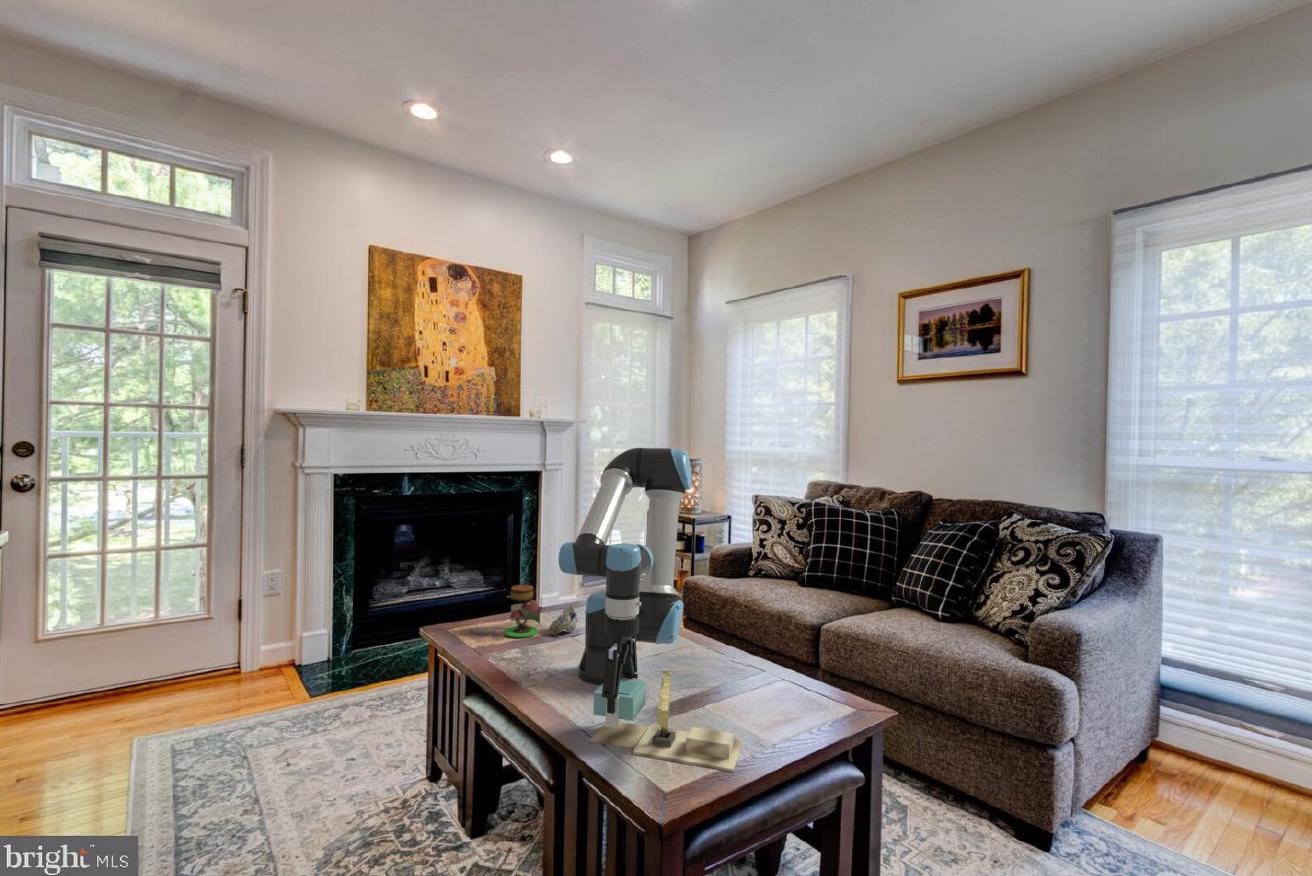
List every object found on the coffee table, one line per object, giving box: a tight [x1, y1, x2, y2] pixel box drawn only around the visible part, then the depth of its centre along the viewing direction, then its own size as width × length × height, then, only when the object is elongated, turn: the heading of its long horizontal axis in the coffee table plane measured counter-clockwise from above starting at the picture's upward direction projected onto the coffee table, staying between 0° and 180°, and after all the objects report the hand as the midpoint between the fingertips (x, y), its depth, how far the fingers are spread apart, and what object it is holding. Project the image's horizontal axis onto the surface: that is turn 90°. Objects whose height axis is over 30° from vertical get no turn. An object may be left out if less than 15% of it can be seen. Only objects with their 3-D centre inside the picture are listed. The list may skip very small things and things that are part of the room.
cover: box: [592, 679, 647, 722], centre depth 135 cm, size 9×9×5 cm
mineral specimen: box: [548, 604, 579, 636], centre depth 203 cm, size 10×8×10 cm
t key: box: [657, 670, 672, 738], centre depth 131 cm, size 20×2×11 cm, turn 177°
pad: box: [589, 721, 649, 750], centre depth 135 cm, size 10×10×1 cm
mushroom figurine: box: [504, 584, 544, 638], centre depth 202 cm, size 12×13×15 cm
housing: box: [632, 724, 743, 772], centre depth 129 cm, size 21×12×4 cm, turn 73°
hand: (619, 716), depth 134 cm, fingers closed on cover, 9 cm apart
